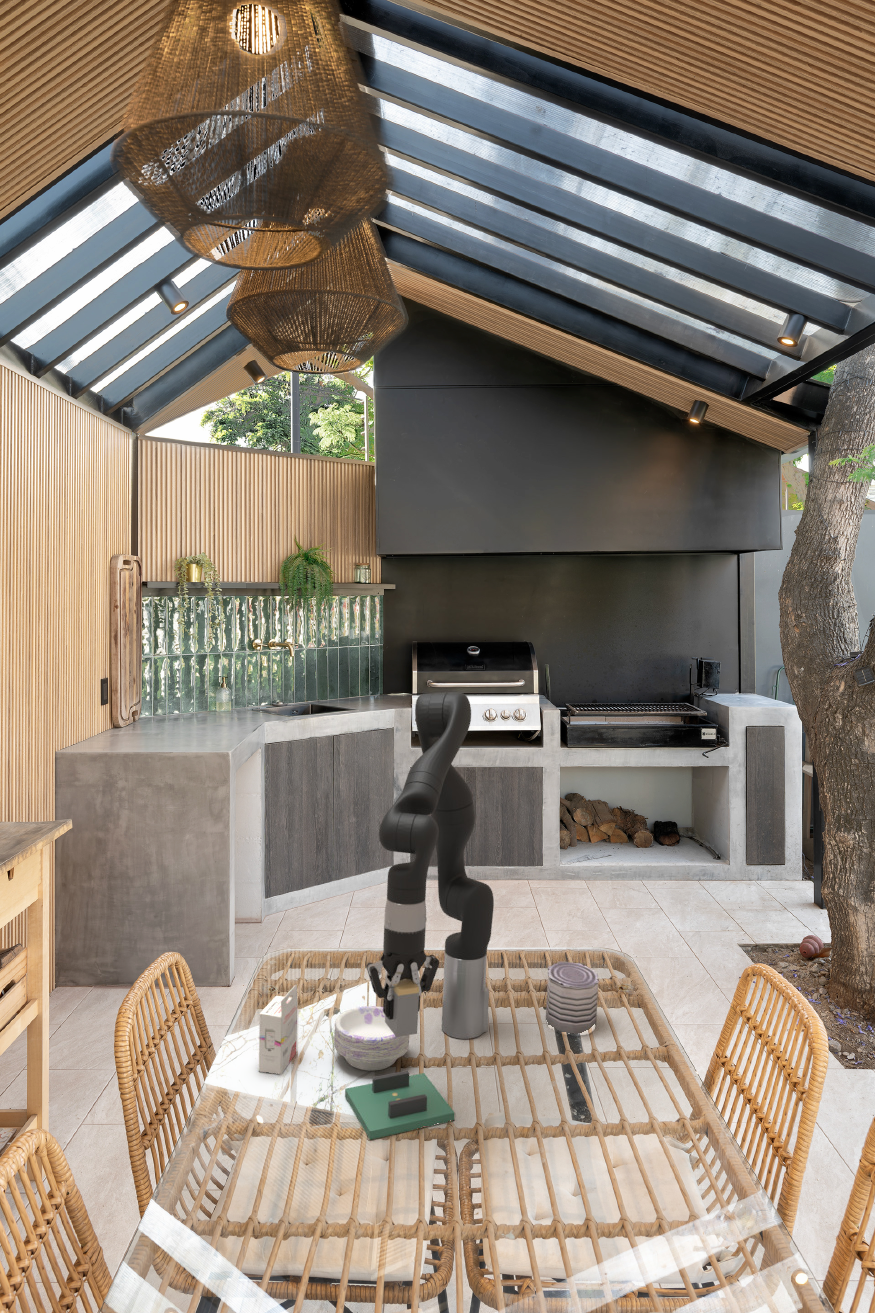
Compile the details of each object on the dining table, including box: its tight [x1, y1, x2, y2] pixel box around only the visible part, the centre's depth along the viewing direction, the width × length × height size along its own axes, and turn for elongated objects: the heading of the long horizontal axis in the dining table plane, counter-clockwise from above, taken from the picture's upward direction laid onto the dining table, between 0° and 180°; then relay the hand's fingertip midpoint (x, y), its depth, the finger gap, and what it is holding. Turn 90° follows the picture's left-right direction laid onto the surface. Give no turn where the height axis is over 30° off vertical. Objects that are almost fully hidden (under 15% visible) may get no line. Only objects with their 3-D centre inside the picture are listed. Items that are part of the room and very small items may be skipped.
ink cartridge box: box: [258, 984, 299, 1075], centre depth 168 cm, size 9×5×15 cm, turn 168°
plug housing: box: [385, 979, 419, 1037], centre depth 154 cm, size 4×6×8 cm, turn 24°
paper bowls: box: [333, 1005, 410, 1072], centre depth 171 cm, size 15×15×8 cm
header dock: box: [344, 1070, 455, 1141], centre depth 155 cm, size 16×14×4 cm
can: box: [545, 960, 600, 1034], centre depth 189 cm, size 11×11×12 cm
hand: (401, 1015), depth 154 cm, fingers closed on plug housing, 4 cm apart
